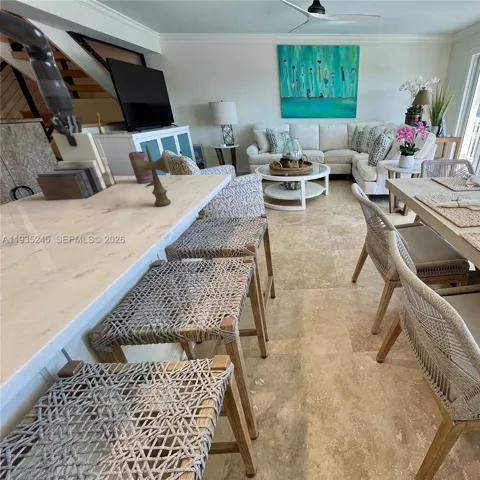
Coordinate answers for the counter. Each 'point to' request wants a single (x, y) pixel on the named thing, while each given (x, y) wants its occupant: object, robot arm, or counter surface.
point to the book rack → (75, 180)
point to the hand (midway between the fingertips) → (76, 145)
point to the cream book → (79, 148)
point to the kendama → (154, 175)
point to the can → (145, 176)
